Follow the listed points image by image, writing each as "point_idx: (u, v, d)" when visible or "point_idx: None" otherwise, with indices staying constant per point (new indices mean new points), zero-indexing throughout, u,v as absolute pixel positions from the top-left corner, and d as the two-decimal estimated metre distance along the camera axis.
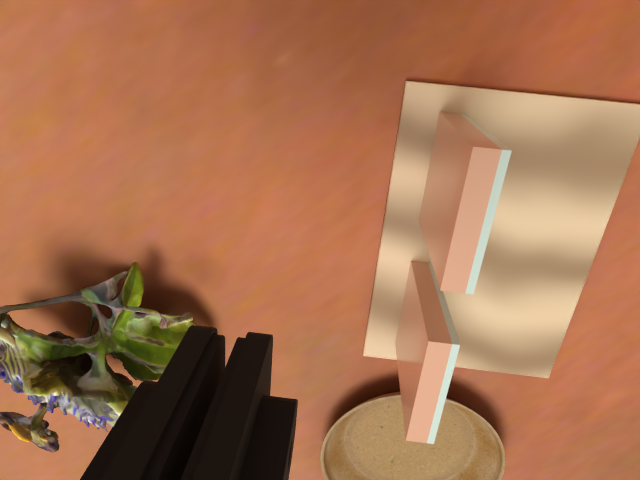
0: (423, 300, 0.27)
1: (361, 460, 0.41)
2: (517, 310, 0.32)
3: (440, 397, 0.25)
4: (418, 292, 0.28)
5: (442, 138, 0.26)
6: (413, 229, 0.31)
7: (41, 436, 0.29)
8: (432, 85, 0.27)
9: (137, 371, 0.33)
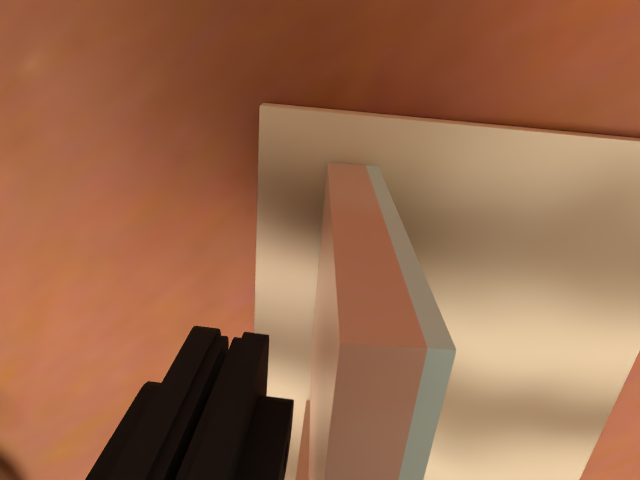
0: None
1: None
2: (487, 473, 0.20)
3: None
4: None
5: (325, 224, 0.13)
6: (305, 355, 0.18)
7: None
8: (309, 112, 0.14)
9: None
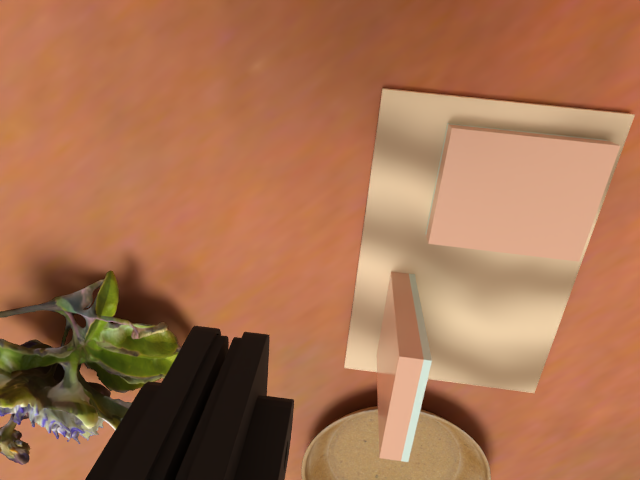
0: (398, 313, 0.26)
1: (345, 474, 0.40)
2: (501, 323, 0.32)
3: (413, 414, 0.24)
4: (394, 304, 0.27)
5: (493, 152, 0.25)
6: (393, 239, 0.30)
7: (10, 448, 0.29)
8: (409, 93, 0.26)
9: (112, 382, 0.32)
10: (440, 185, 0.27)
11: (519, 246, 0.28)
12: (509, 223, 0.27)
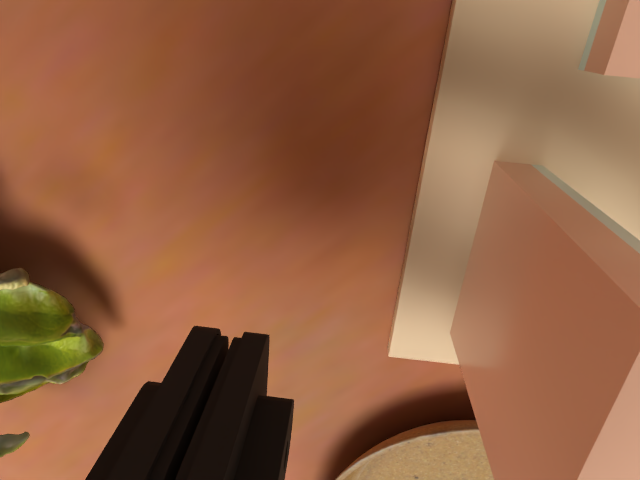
0: (563, 222, 0.11)
1: None
2: None
3: None
4: (541, 207, 0.11)
5: None
6: (506, 86, 0.14)
7: None
8: None
9: None
10: None
11: None
12: None
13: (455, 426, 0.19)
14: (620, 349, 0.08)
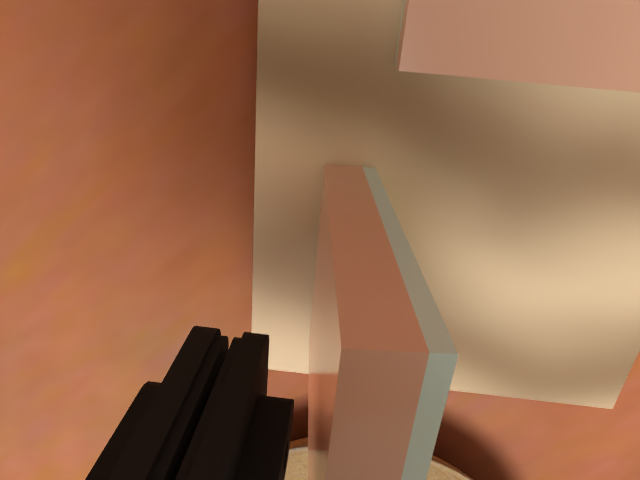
0: (340, 230, 0.10)
1: None
2: (555, 271, 0.15)
3: None
4: (331, 214, 0.11)
5: None
6: (324, 85, 0.13)
7: None
8: None
9: None
10: None
11: (620, 67, 0.11)
12: (600, 1, 0.11)
13: None
14: (334, 376, 0.07)
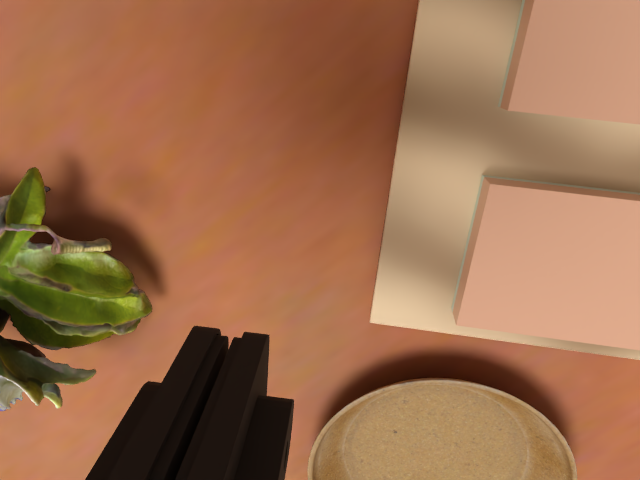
0: (613, 197, 0.19)
1: (366, 479, 0.29)
2: None
3: None
4: (591, 195, 0.19)
5: None
6: (448, 117, 0.20)
7: None
8: None
9: (36, 332, 0.22)
10: (532, 6, 0.17)
11: None
12: None
13: (420, 379, 0.24)
14: None
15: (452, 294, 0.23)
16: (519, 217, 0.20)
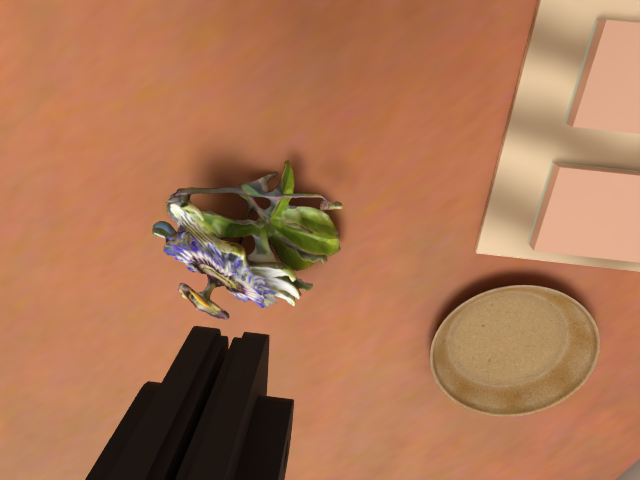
0: (627, 173, 0.34)
1: (461, 360, 0.45)
2: None
3: None
4: (616, 173, 0.34)
5: (639, 40, 0.31)
6: (535, 129, 0.35)
7: (215, 305, 0.34)
8: None
9: (285, 260, 0.37)
10: (589, 72, 0.32)
11: None
12: None
13: None
14: None
15: (528, 233, 0.38)
16: (575, 186, 0.35)
